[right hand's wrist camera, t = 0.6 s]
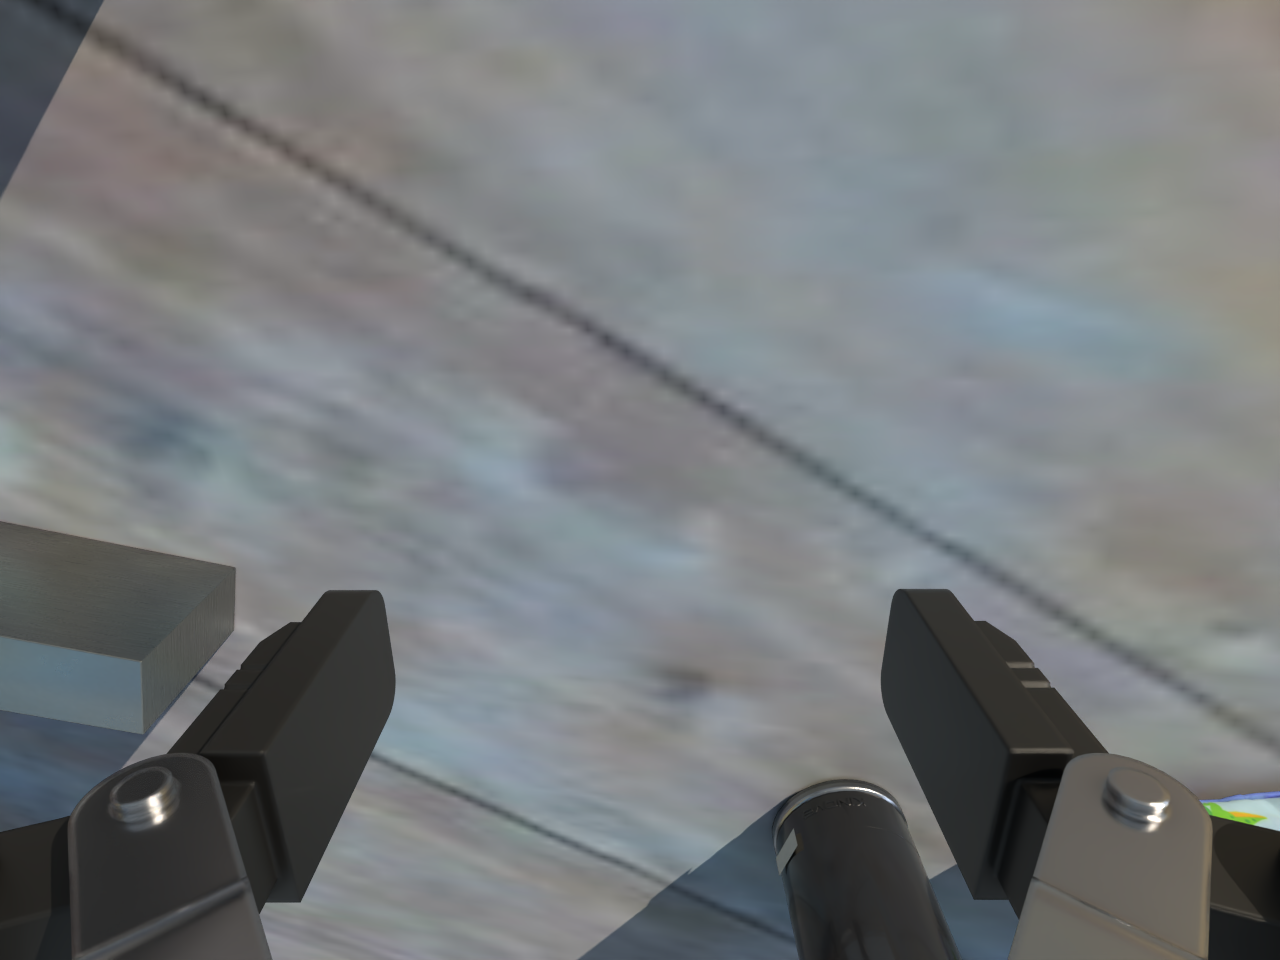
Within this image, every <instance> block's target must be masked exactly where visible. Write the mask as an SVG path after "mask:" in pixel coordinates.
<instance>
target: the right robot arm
mask: <svg viewBox="0 0 1280 960" xmlns="http://www.w3.org/2000/svg"><path fill="white" fill-rule="evenodd" d="M881 691H882V698H883V703H884V707H885V710H886V713H887V715H888V717H889V720H890V722H891V724H892V726H893V728H894V730H895V732H896V734H897V737H898V739H899V741H900V743H901V745H902V747H903V749H904V751H905V754H906V756H907V758H908V760H909V762H910V764H911V766H912V769H913V771H914V773H915V775H916V777H917V779H918V781H919V783H920V786H921V788H922V790H923V792H924V794H925V796H926V798H927V800H928V803H929V805H930V807H931V809H932V811H933V813H934V815H935V817H936V820H937V822H938V824H939V826H940V828H941V830H942V832H943V835H944V837H945V839H946V841H947V843H948V845H949V847H950V849H951V852H952V854H953V856H954V858H955V860H956V862H957V864H958V866H959V869H960V871H961V873H962V875H963V877H964V879H965V881H966V884H967V886H968V888H969V890H970V892H971V894H972V896H973V898H974V900H1009V901H1010V903H1011V905H1012V907H1013V909H1014V911H1015V913H1016V915H1017V917H1018V919H1019V923H1018V926H1017V929H1016V933H1015V936H1014V940H1013V943H1012V946H1011V950H1010V953H1009V957H1008V960H1280V831H1277V830H1273V829H1269V828H1264V827H1260V826H1256V825H1251V824H1247V823H1243V822H1238V821H1234V820H1230V819H1225V818H1221V817H1217V816H1212V815H1209V814H1208V812H1207V810H1206V809H1205V807H1204V805H1203V804H1202V803H1201V802H1200V801H1199V799H1198V798H1197V797H1196V796H1195V795H1194V794H1193V793H1192V792H1191V791H1190V790H1189V789H1187V788H1186V787H1185V786H1184V785H1182V784H1181V783H1180V782H1178V781H1177V780H1176V779H1174V778H1172V777H1171V776H1169V775H1168V774H1166V773H1164V772H1162V771H1161V770H1159V769H1157V768H1155V767H1153V766H1150V765H1148V764H1146V763H1143V762H1141V761H1138V760H1135V759H1132V758H1129V757H1124V756H1120V755H1115V754H1109V753H1108V752H1107V751H1106V749H1105V748H1104V747H1103V746H1102V745H1101V743H1100V742H1099V741H1098V740H1097V739H1096V737H1095V736H1094V735H1093V734H1092V733H1091V731H1090V730H1089V729H1088V728H1087V727H1086V725H1085V724H1084V723H1083V722H1082V721H1081V719H1080V718H1079V717H1078V716H1077V714H1076V713H1075V712H1074V711H1073V710H1072V708H1071V707H1070V706H1069V705H1068V704H1067V702H1066V701H1065V700H1064V699H1063V698H1062V696H1061V695H1060V694H1059V693H1058V692H1057V690H1056V689H1055V688H1051V687H1050V682H1049V681H1048V680H1047V678H1046V677H1045V676H1044V675H1043V673H1042V672H1041V671H1040V670H1039V669H1038V668H1035V667H1034V663H1033V661H1032V660H1031V659H1030V658H1029V657H1028V655H1027V654H1026V653H1025V652H1024V651H1023V649H1022V648H1021V647H1020V646H1019V645H1018V643H1017V642H1016V641H1015V640H1014V639H1012V638H1011V637H1009V636H1007V635H1006V634H1004V633H1003V632H1001V631H1000V630H998V629H997V628H995V627H994V626H992V625H991V624H989V623H988V622H986V621H974V620H973V619H972V618H971V616H970V615H969V614H968V613H967V611H966V610H965V609H964V607H963V606H962V605H961V603H960V602H959V601H958V600H957V598H956V597H955V596H954V594H953V593H952V592H951V591H950V590H948V589H898V590H897V591H896V592H895V594H894V596H893V599H892V603H891V610H890V616H889V623H888V630H887V636H886V643H885V650H884V657H883V663H882V670H881ZM394 695H395V669H394V663H393V656H392V649H391V643H390V636H389V630H388V623H387V616H386V610H385V604H384V600H383V597H382V595H381V593H380V592H379V591H377V590H329V591H327V592H325V593H324V594H323V595H322V597H321V598H320V599H319V600H318V602H317V603H316V604H315V606H314V607H313V608H312V609H311V611H310V612H309V613H308V615H307V616H306V617H305V618H304V620H303V621H302V622H290V623H288V624H287V625H285V626H284V627H282V628H281V629H279V630H278V631H276V632H275V633H273V634H272V635H270V636H269V637H267V638H266V639H264V640H263V641H261V642H260V643H259V644H258V645H257V646H256V648H255V649H254V650H253V651H252V652H251V654H250V655H249V656H248V657H247V658H246V660H245V661H244V662H243V663H242V664H241V669H240V670H236V672H235V673H234V674H233V675H232V676H231V677H230V679H229V680H228V681H227V682H226V683H225V688H224V689H220V691H219V692H218V693H217V694H216V695H215V697H214V698H213V699H212V700H211V701H210V703H209V704H208V705H207V706H206V707H205V709H204V710H203V711H202V712H201V713H200V715H199V716H198V717H197V718H196V719H195V721H194V722H193V723H192V724H191V725H190V726H189V728H188V729H187V730H186V731H185V732H184V734H183V735H182V736H181V737H180V738H179V740H178V741H177V742H176V743H175V744H174V746H173V747H172V748H171V749H170V750H169V752H168V753H167V754H165V755H160V756H156V757H151V758H148V759H145V760H142V761H139V762H137V763H134V764H132V765H130V766H127V767H125V768H123V769H121V770H119V771H118V772H116V773H114V774H112V775H111V776H109V777H108V778H106V779H104V780H103V781H102V782H100V783H99V784H98V785H96V786H95V787H94V788H93V789H91V790H90V791H89V792H88V793H87V794H86V795H85V796H84V797H83V798H82V799H81V801H80V802H79V803H78V804H77V805H76V807H75V809H74V810H73V812H72V814H71V816H67V817H64V818H60V819H55V820H51V821H47V822H42V823H38V824H34V825H29V826H25V827H21V828H16V829H12V830H8V831H3V832H0V960H272V957H271V953H270V950H269V946H268V943H267V940H266V936H265V933H264V929H263V926H262V923H261V919H260V916H259V914H260V912H261V910H262V908H263V906H264V905H265V903H266V902H301V900H302V898H303V896H304V894H305V892H306V890H307V888H308V886H309V883H310V881H311V879H312V877H313V875H314V873H315V871H316V869H317V867H318V865H319V862H320V860H321V858H322V856H323V854H324V852H325V850H326V848H327V846H328V844H329V841H330V839H331V837H332V835H333V833H334V831H335V829H336V827H337V825H338V822H339V820H340V818H341V816H342V814H343V812H344V810H345V808H346V806H347V804H348V801H349V799H350V797H351V795H352V793H353V791H354V789H355V787H356V785H357V782H358V780H359V778H360V776H361V774H362V772H363V770H364V768H365V766H366V764H367V761H368V759H369V757H370V755H371V753H372V751H373V749H374V747H375V745H376V743H377V740H378V738H379V736H380V734H381V732H382V730H383V728H384V726H385V724H386V721H387V719H388V717H389V715H390V713H391V709H392V706H393V701H394ZM772 838H773V843H774V848H775V852H776V855H777V857H776V862H777V867H778V871H779V875H780V874H782V879H783V884H784V890H785V894H786V899H787V904H788V909H789V913H790V918H791V923H792V928H793V932H794V937H795V942H796V947H797V951H798V956H799V960H962V958H961V956H960V953H959V951H958V948H957V946H956V944H955V941H954V939H953V936H952V934H951V932H950V929H949V927H948V924H947V922H946V920H945V917H944V915H943V912H942V910H941V908H940V905H939V903H938V900H937V898H936V896H935V893H934V891H933V888H932V886H931V883H930V881H929V879H928V876H927V874H926V871H925V869H924V867H923V864H922V862H921V859H920V856H919V854H918V852H917V849H916V847H915V845H914V842H913V840H912V837H911V835H910V833H909V830H908V826H907V822H906V819H905V817H904V814H903V812H902V810H901V807H900V805H899V804H898V802H897V801H896V799H895V798H894V797H893V796H892V795H891V794H890V793H888V792H887V791H886V790H884V789H882V788H881V787H878V786H876V785H874V784H871V783H868V782H864V781H859V780H848V779H844V780H832V781H826V782H822V783H819V784H816V785H813V786H810V787H808V788H806V789H804V790H802V791H800V792H799V793H797V794H796V795H794V796H793V797H792V798H790V799H789V800H788V801H787V802H786V803H785V804H784V805H783V806H782V808H781V809H780V810H779V812H778V814H777V816H776V818H775V820H774V823H773V828H772Z"/></svg>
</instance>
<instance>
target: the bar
mask: <svg viewBox="0 0 1280 960" xmlns="http://www.w3.org/2000/svg"><path fill="white" fill-rule="evenodd" d="M235 569H236V568H235V567H230V566H225V565H219V564H214V563H209V562H204V561H199V560H194V559H189V558H184V557H179V556H173V555H168V554H163V553H158V552H153V551H148V550H143V549H138V548H133V547H127V546H122V545H117V544H112V543H107V542H102V541H97V540H92V539H87V538H81V537H76V536H71V535H66V534H61V533H56V532H51V531H46V530H41V529H35V528H30V527H25V526H20V525H15V524H10V523H5V522H0V710H3V711H9V712H14V713H20V714H26V715H32V716H38V717H44V718H49V719H55V720H61V721H67V722H73V723H79V724H84V725H90V726H96V727H102V728H108V729H114V730H119V731H125V732H131V733H137V734H144V733H145V732H146V731H147V730H148V729H149V728H150V726H151V725H152V724H153V723H154V722H155V721H156V720H157V718H158V717H159V716H160V715H161V714H162V713H163V711H164V710H165V709H166V708H167V707H168V706H169V705H170V703H171V702H172V701H173V700H174V699H175V698H176V697H177V695H178V694H179V693H180V692H181V691H182V690H183V688H184V687H185V686H186V685H187V684H188V683H189V682H190V680H191V679H192V678H193V677H194V676H195V675H196V674H197V672H198V671H199V670H200V669H201V668H202V667H203V665H204V664H205V663H206V662H207V661H208V660H209V659H210V657H211V656H212V655H213V654H214V653H215V652H216V650H217V649H218V648H219V647H220V646H221V645H222V644H223V642H224V641H225V640H226V639H227V638H228V637H229V636H230V634H231V633H232V632H233V631H234V605H235Z"/></svg>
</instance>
